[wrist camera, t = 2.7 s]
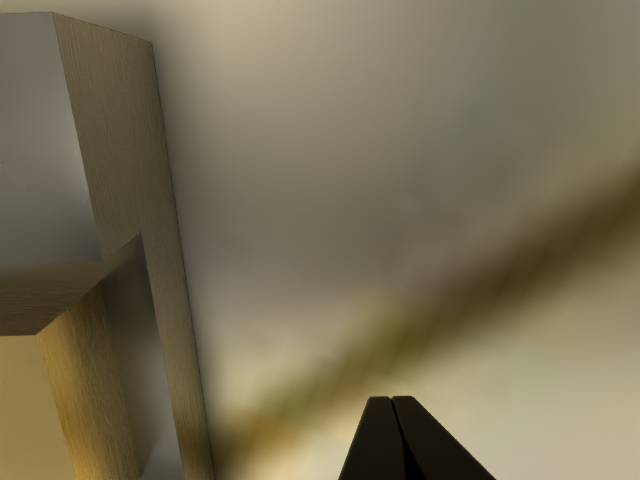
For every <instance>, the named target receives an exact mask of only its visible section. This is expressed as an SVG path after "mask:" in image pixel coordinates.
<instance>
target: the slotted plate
mask: <svg viewBox="0 0 640 480" xmlns="http://www.w3.org/2000/svg"><path fill="white" fill-rule="evenodd" d="M68 282H99V283H100V287H101V292H102V297H103V301H104V306H105V310H106V315H107V320H108V324H109V329H110V334H111V338H112V343H113V348H114V352H115V357H116V361H117V366H118V371H119V375H120V380H121V385H122V389H123V394H124V399H125V403H126V408H127V412H128V417H129V422H130V426H131V431H132V436H133V440H134V445H135V450H136V454H137V459H138V463H139V468H140V473H141V479H140V480H215V478H214V471H213V464H212V457H211V450H210V443H209V436H208V429H207V422H206V416H205V409H204V402H203V395H202V388H201V381H200V374H199V367H198V360H197V354H196V347H195V340H194V333H193V326H192V319H191V312H190V305H189V299H188V292H187V285H186V278H185V271H184V264H183V257H182V250H181V243H180V237H179V230H178V223H177V216H176V209H175V202H174V195H173V188H172V181H171V175H170V168H169V161H168V154H167V147H166V140H165V133H164V126H163V119H162V113H161V106H160V99H159V92H158V85H157V78H156V71H155V64H154V57H153V51H152V44H151V42H150V41H147V40H144V39H140V38H137V37H134V36H130V35H127V34H124V33H120V32H117V31H114V30H110V29H107V28H104V27H100V26H97V25H94V24H90V23H87V22H84V21H80V20H77V19H74V18H70V17H67V16H64V15H60V14H57V13H54V12H34V13H7V14H0V284H34V283H68Z"/></svg>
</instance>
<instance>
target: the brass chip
mask: <svg viewBox="0 0 640 480" xmlns="http://www.w3.org/2000/svg"><path fill="white" fill-rule="evenodd" d="M140 479H141V473H140V468H139V463H138V459H137V454H136V450H135V445H134V440H133V436H132V431H131V426H130V422H129V417H128V412H127V408H126V403H125V399H124V394H123V389H122V385H121V380H120V375H119V371H118V366H117V361H116V357H115V352H114V348H113V343H112V338H111V334H110V329H109V324H108V320H107V315H106V310H105V306H104V301H103V297H102V292H101V287H100V283H99V282H68V283H34V284H0V480H140Z"/></svg>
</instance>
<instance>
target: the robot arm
mask: <svg viewBox="0 0 640 480" xmlns="http://www.w3.org/2000/svg"><path fill="white" fill-rule="evenodd" d="M338 480H496V479H495V478H494V477H493V476H492V475H491V474H490V473H489V472H488V471H487V470H486V469H485V468H484V467H483V466H482V465H481V464H480V463H479V462H478V461H477V460H476V459H475V458H474V457H473V456H472V455H471V454H470V453H469V452H468V451H467V450H466V449H465V448H464V447H463V446H462V445H461V444H460V443H459V442H458V441H457V440H456V439H455V438H454V437H453V436H452V435H451V434H450V433H449V432H448V431H447V430H446V429H445V428H444V427H443V426H442V425H441V424H440V423H439V422H438V421H437V420H436V419H435V418H434V417H433V416H432V415H431V414H430V413H429V412H428V411H427V410H426V409H425V408H424V407H423V406H422V405H421V404H420V403H419V402H418V401H417V400H416V399H415V398H414V397H412V396H393V397H392V398H391V399H390V398H389V397H387V396H378V397H370V398H369V399H368V400H367V403H366V406H365V409H364V411H363V414H362V417H361V419H360V422H359V425H358V427H357V430H356V433H355V435H354V438H353V441H352V444H351V446H350V449H349V452H348V454H347V457H346V460H345V462H344V465H343V468H342V470H341V473H340V476H339V479H338Z"/></svg>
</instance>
